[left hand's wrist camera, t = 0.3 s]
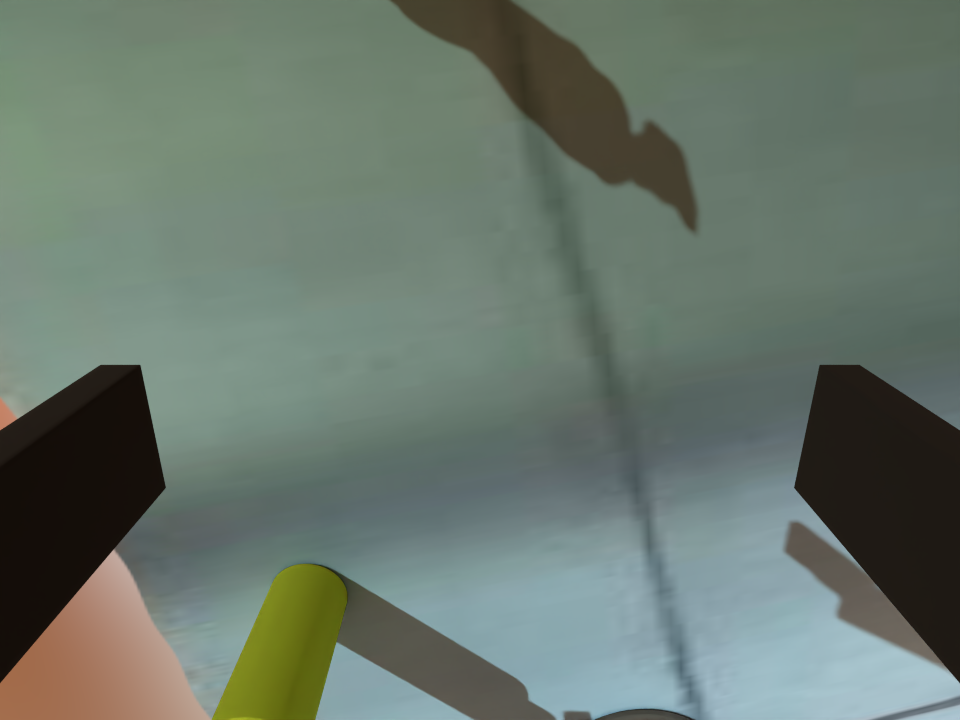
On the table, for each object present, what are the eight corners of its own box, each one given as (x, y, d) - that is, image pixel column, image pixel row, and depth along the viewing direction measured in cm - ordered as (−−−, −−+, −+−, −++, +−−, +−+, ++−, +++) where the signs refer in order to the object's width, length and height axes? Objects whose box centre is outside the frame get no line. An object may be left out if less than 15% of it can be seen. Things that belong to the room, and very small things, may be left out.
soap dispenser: (347, 554, 47) (261, 841, 29) (347, 626, 50) (268, 933, 31) (268, 549, 47) (130, 834, 28) (272, 622, 50) (148, 927, 31)
